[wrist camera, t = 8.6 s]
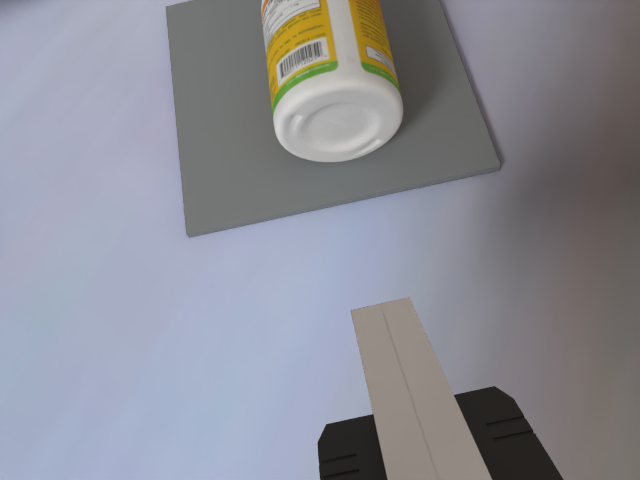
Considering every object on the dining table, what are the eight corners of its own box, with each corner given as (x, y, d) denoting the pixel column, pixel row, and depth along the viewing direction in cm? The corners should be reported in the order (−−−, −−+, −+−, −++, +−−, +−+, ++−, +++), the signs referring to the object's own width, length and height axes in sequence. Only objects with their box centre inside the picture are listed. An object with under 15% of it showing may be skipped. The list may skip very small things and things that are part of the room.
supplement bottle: (387, 164, 27) (356, 10, 31) (422, 84, 22) (379, -85, 27) (269, 167, 26) (253, 7, 30) (279, 84, 21) (259, -92, 26)
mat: (499, 170, 26) (500, 165, 26) (188, 237, 27) (186, 233, 26) (419, -46, 32) (419, -52, 32) (168, 12, 33) (165, 6, 32)
